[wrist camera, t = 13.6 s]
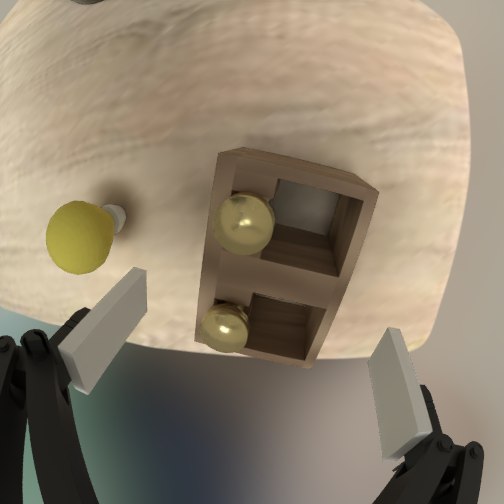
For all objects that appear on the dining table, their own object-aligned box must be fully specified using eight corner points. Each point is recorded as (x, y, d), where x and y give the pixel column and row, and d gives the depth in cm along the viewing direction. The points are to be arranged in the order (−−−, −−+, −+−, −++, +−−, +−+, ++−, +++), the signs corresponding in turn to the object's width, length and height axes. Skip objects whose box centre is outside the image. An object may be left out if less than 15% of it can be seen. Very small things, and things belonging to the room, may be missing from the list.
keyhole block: (243, 147, 24) (218, 153, 16) (354, 174, 23) (379, 192, 16) (218, 292, 30) (194, 341, 23) (310, 314, 29) (310, 368, 22)
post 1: (248, 169, 24) (217, 191, 15) (286, 177, 24) (278, 204, 15) (241, 205, 26) (208, 247, 17) (278, 213, 25) (265, 261, 16)
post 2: (233, 250, 28) (201, 309, 18) (267, 258, 27) (251, 322, 18) (228, 280, 29) (197, 345, 20) (260, 288, 29) (242, 357, 20)
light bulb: (126, 175, 26) (58, 199, 17) (153, 232, 28) (96, 277, 19) (86, 201, 28) (23, 230, 19) (111, 251, 30) (56, 294, 21)
